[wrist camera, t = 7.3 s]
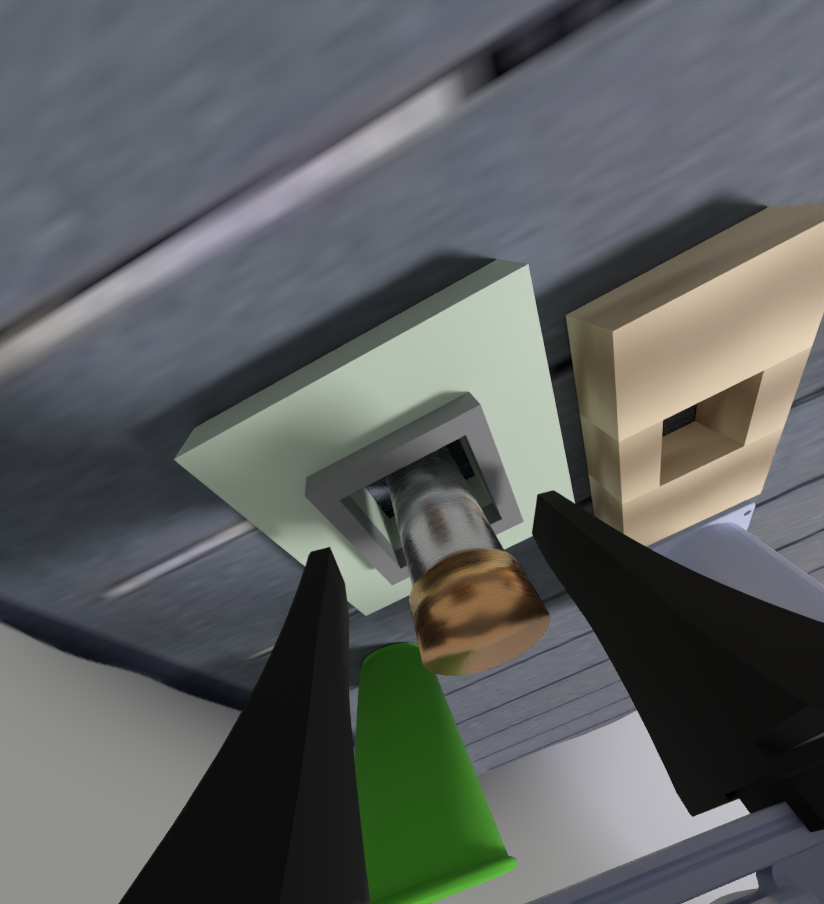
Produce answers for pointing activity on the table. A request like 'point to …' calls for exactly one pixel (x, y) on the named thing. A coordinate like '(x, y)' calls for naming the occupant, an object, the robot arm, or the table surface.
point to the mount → (697, 371)
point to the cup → (418, 787)
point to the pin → (460, 573)
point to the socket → (395, 430)
